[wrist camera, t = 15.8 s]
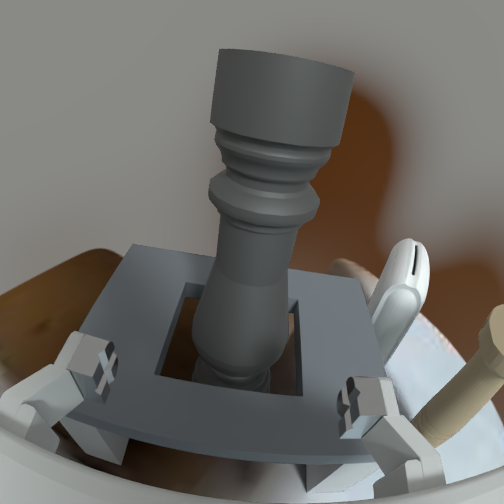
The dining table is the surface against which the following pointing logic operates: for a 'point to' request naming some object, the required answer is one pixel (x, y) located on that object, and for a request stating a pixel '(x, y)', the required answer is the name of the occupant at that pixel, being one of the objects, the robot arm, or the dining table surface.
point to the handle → (466, 386)
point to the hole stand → (219, 398)
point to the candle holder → (262, 204)
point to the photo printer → (399, 295)
